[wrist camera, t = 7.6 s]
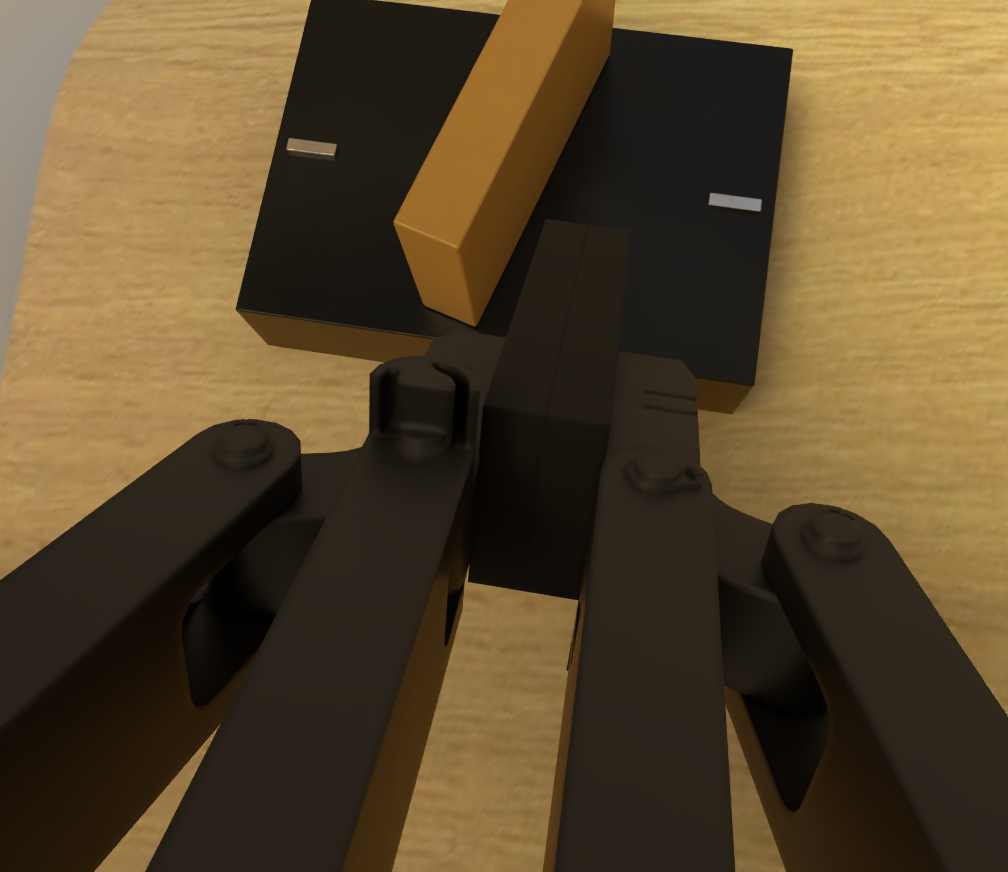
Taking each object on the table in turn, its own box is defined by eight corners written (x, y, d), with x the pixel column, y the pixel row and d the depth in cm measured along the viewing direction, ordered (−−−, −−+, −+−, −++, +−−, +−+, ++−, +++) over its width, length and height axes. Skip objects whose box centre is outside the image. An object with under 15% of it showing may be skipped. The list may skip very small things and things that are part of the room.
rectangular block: (476, 328, 25) (457, 244, 20) (422, 305, 25) (389, 217, 20) (610, 52, 26) (625, -90, 21) (559, 33, 27) (561, -113, 21)
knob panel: (255, 395, 28) (219, 363, 25) (345, 13, 31) (322, -58, 28) (726, 468, 27) (749, 444, 24) (774, 63, 29) (800, -5, 26)
